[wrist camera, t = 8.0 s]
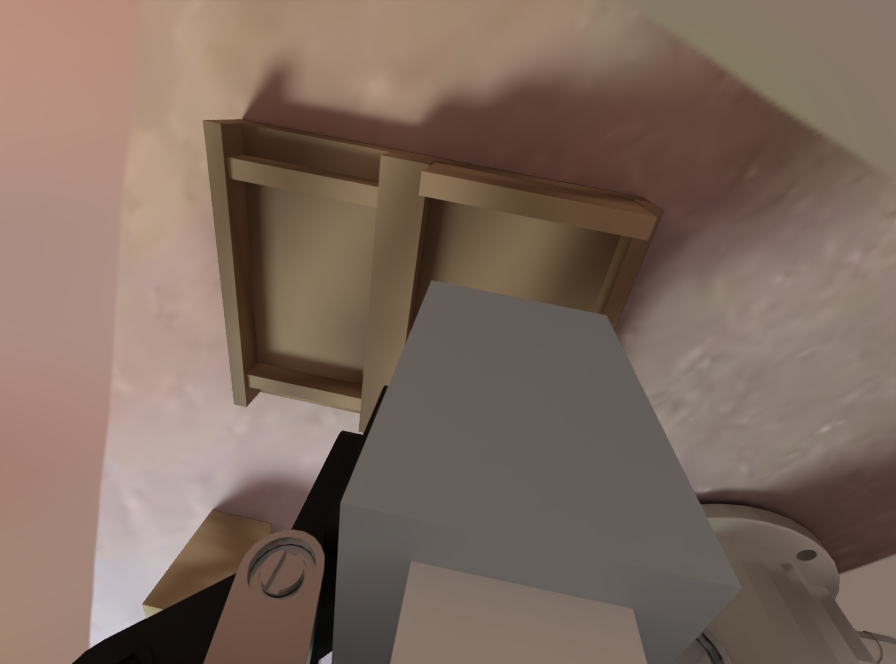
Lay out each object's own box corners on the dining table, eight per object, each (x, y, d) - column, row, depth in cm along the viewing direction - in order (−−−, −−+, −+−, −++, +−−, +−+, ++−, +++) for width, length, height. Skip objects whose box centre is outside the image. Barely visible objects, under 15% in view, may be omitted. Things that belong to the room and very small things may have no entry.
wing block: (271, 522, 27) (214, 621, 22) (275, 579, 30) (225, 678, 25) (212, 509, 27) (141, 604, 22) (222, 567, 30) (162, 662, 25)
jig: (643, 197, 15) (678, 219, 12) (550, 440, 21) (557, 497, 18) (240, 119, 15) (175, 120, 12) (258, 377, 21) (217, 422, 18)
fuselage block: (606, 315, 9) (870, 846, 3) (518, 535, 13) (533, 969, 7) (431, 280, 9) (256, 708, 3) (395, 509, 13) (288, 913, 7)
